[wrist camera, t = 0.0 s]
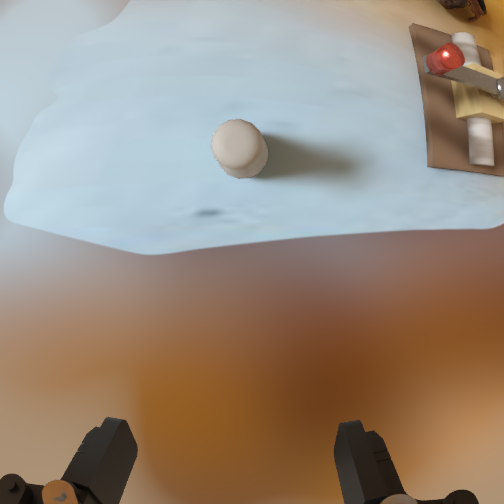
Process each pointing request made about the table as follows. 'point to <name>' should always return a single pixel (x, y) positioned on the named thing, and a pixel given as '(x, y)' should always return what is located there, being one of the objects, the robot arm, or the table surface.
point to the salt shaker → (239, 148)
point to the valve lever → (460, 70)
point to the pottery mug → (476, 5)
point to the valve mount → (460, 108)
